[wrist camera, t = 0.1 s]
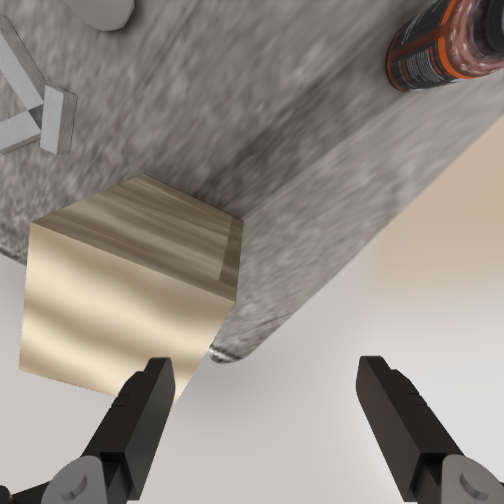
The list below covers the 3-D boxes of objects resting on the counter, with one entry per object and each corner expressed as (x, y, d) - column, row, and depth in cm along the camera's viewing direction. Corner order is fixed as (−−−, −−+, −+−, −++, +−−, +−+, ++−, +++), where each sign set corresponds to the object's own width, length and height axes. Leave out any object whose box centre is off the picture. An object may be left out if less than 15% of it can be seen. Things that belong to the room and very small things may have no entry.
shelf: (142, 173, 28) (30, 222, 14) (243, 221, 31) (235, 302, 16) (116, 268, 34) (18, 370, 20) (202, 301, 37) (170, 411, 22)
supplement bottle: (422, 102, 25) (538, 86, 15) (372, 79, 24) (459, 44, 14) (463, 30, 22) (639, -49, 12) (409, 1, 21) (550, -112, 11)
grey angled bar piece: (-10, 9, 21) (-34, -2, 20) (82, 59, 23) (68, 53, 21) (-10, 147, 27) (-29, 148, 25) (65, 180, 28) (53, 183, 27)
